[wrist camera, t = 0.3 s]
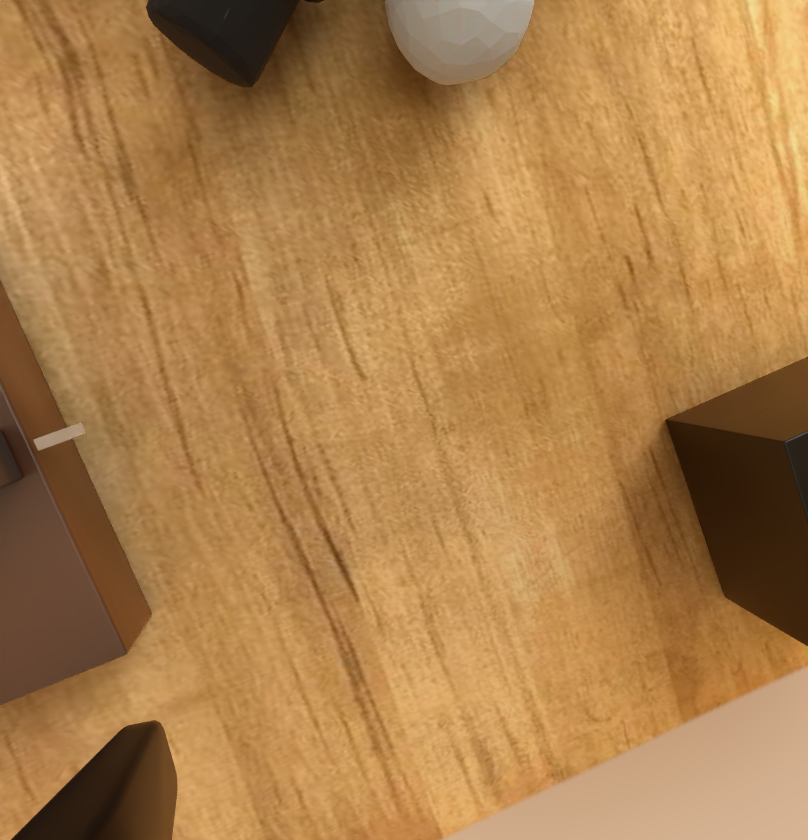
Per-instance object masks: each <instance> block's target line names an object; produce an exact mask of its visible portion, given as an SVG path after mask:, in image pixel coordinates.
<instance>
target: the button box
mask: <svg viewBox="0 0 808 840" xmlns="http://www.w3.org/2000/svg"><path fill="white" fill-rule="evenodd" d="M666 422H667V425H668V428H669V431H670V434H671V437H672V440H673V443H674V446H675V449H676V452H677V455H678V458H679V461H680V464H681V467H682V470H683V473H684V476H685V479H686V482H687V485H688V488H689V491H690V494H691V497H692V500H693V503H694V506H695V509H696V512H697V515H698V518H699V521H700V524H701V527H702V530H703V533H704V536H705V539H706V542H707V545H708V548H709V551H710V554H711V557H712V559H713V562H714V565H715V568H716V571H717V574H718V577H719V580H720V583H721V586H722V589H723V592H724V595H725V597H726V598H727V599H729V600H731V601H732V602H734V603H736V604H737V605H739V606H741V607H742V608H744V609H746V610H747V611H749V612H751V613H752V614H754V615H756V616H758V617H759V618H761V619H763V620H764V621H766V622H768V623H769V624H771V625H773V626H774V627H776V628H778V629H779V630H781V631H783V632H784V633H786V634H788V635H790V636H791V637H793V638H795V639H796V640H798V641H800V642H801V643H803V644H805V645H806V646H808V357H807V358H805V359H802V360H800V361H798V362H796V363H793V364H791V365H789V366H787V367H784V368H782V369H780V370H778V371H775V372H773V373H771V374H768V375H766V376H764V377H762V378H759V379H757V380H755V381H753V382H750V383H748V384H746V385H743V386H741V387H739V388H737V389H734V390H732V391H730V392H728V393H725V394H723V395H721V396H719V397H716V398H714V399H712V400H709V401H707V402H705V403H703V404H700V405H698V406H696V407H694V408H691V409H689V410H687V411H685V412H682V413H680V414H678V415H675V416H673V417H671V418H669V419H667V420H666Z"/></svg>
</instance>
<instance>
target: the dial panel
mask: <svg viewBox="0 0 808 840" xmlns="http://www.w3.org/2000/svg"><path fill="white" fill-rule="evenodd" d="M0 431H1V432H2V434H3V436H4V438H5V440H6V443H7V445H8V447H9V449H10V451H11V453H12V455H13V457H14V460H15V462H16V464H17V466H18V468H19V470H20V472H21V474H22V479H21V480H20V481H18V482H16V483H13V484H11V485H9V486H6V487H4V488H2V489H0V705H2V704H5V703H7V702H10V701H12V700H15V699H17V698H20V697H22V696H24V695H27V694H29V693H32V692H34V691H37V690H39V689H42V688H44V687H47V686H49V685H52V684H54V683H57V682H59V681H62V680H64V679H67V678H69V677H72V676H74V675H77V674H79V673H82V672H84V671H87V670H89V669H92V668H94V667H97V666H99V665H101V664H104V663H106V662H109V661H111V660H114V659H116V658H119V657H121V656H124V655H126V654H127V653H128V652H129V650H130V649H131V647H132V645H133V644H134V642H135V641H136V639H137V637H138V636H139V634H140V633H141V631H142V629H143V628H144V626H145V625H146V623H147V622H148V620H149V618H150V617H151V611H150V609H149V607H148V605H147V602H146V600H145V598H144V596H143V594H142V591H141V589H140V587H139V585H138V583H137V580H136V578H135V576H134V574H133V572H132V569H131V567H130V565H129V563H128V561H127V558H126V556H125V554H124V552H123V550H122V547H121V545H120V543H119V541H118V539H117V536H116V534H115V532H114V530H113V528H112V525H111V523H110V521H109V519H108V517H107V514H106V512H105V510H104V508H103V506H102V503H101V501H100V499H99V497H98V495H97V492H96V490H95V488H94V486H93V484H92V481H91V479H90V477H89V475H88V473H87V470H86V468H85V466H84V464H83V462H82V459H81V457H80V455H79V453H78V451H77V448H76V446H75V444H74V442H73V440H72V439H73V438H76V437H78V436H81V435H84V434H86V431H85V428H84V426H83V424H82V422H81V423H78V424H75V425H72V426H69V427H67V426H66V424H65V422H64V420H63V418H62V415H61V413H60V411H59V409H58V407H57V404H56V402H55V400H54V398H53V396H52V393H51V391H50V389H49V387H48V385H47V382H46V380H45V378H44V376H43V374H42V371H41V369H40V367H39V365H38V363H37V360H36V358H35V356H34V354H33V352H32V349H31V347H30V345H29V343H28V341H27V338H26V336H25V334H24V332H23V330H22V327H21V325H20V323H19V321H18V319H17V316H16V314H15V312H14V310H13V308H12V305H11V303H10V301H9V299H8V297H7V294H6V292H5V290H4V288H3V286H2V283H1V281H0Z"/></svg>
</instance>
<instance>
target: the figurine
mask: <svg viewBox="0 0 808 840" xmlns="http://www.w3.org/2000/svg"><path fill="white" fill-rule="evenodd" d="M298 1H299V0H148V3H147V6H146V9H147V12H148V16H149V18H150V20H151V21H152V23H153V24H154V25H155V26H156V27H157V28H158V29H159V30H160V31H161V32H162V33H163V34H164V35H165V36H166V37H167V38H168V39H170V40H171V41H172V42H173V43H174V44H175V45H176V46H177V47H179V48H180V49H181V50H182V51H183V52H185V53H186V54H187V55H188V56H190V57H191V58H192V59H194V60H195V61H197V62H198V63H200V64H201V65H203V66H204V67H205V68H207V69H208V70H210V71H211V72H213V73H215V74H216V75H218V76H220V77H222V78H223V79H225V80H227V81H229V82H231V83H234V84H236V85H239V86H242V87H252V86H253V85H254V83H255V82H256V81H257V80H258V79H259V77H260V75H261V73H262V72H263V70H264V68H265V66H266V64H267V62H268V60H269V58H270V56H271V54H272V52H273V50H274V48H275V46H276V44H277V42H278V40H279V38H280V36H281V34H282V32H283V30H284V28H285V26H286V24H287V22H288V20H289V19H290V17H291V15H292V13H293V11H294V9H295V7H296V5H297V3H298ZM304 1H306V2H314V3H319V2H321V1H323V0H304ZM384 1H385V6H386V12H387V18H388V23H389V27H390V30H391V32H392V35H393V37H394V39H395V42H396V44H397V46H398V48H399V50H400V51H401V53H402V54H403V56H404V57H405V58H406V59H407V61H408V62H409V63H410V64H411V66H412V67H413V68H414V69H415V70H416V71H418V72H419V73H421V74H422V75H424V76H426V77H427V78H429V79H430V80H432V81H434V82H437V83H439V84H445V85H452V84H460V83H468V82H473V81H476V80H479V79H483V78H486V77H488V76H490V75H492V74H493V73H495V72H496V71H497V70H498V69H499V68H500V67H502V66H503V65H504V64H505V63H506V62H507V61H509V60H510V58H511V57H512V56H513V55H514V54H515V52H516V51H517V50H518V48H519V46H520V43H521V41H522V39H523V37H524V35H525V32H526V30H527V28H528V25H529V22H530V18H531V15H532V11H533V7H534V0H384Z"/></svg>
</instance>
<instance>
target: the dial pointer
mask: <svg viewBox="0 0 808 840" xmlns="http://www.w3.org/2000/svg"><path fill="white" fill-rule="evenodd" d="M21 479H22V474H21V472H20V470H19V468H18V466H17V464H16V462H15V460H14V457H13V455H12V453H11V451H10V449H9V447H8V445H7V443H6V440H5V438H4V436H3V434H2V432H1V431H0V489H2V488H4V487H6V486H9V485H11V484H13V483H16V482H18V481H20V480H21Z"/></svg>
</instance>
